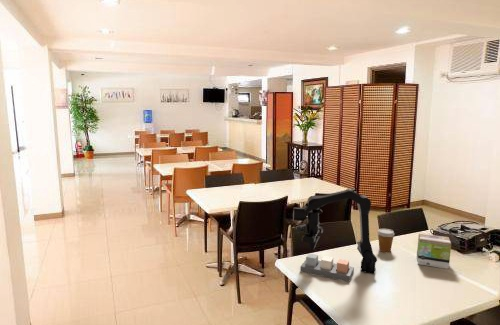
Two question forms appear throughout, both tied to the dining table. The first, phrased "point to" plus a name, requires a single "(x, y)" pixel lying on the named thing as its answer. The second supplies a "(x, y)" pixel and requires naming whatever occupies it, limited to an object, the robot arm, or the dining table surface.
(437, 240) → the tea box
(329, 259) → the cream key
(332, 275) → the grey slotted tray
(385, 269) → the dining table surface
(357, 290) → the dining table surface
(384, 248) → the disposable coffee cup
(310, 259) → the light grey cube
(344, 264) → the terracotta key
